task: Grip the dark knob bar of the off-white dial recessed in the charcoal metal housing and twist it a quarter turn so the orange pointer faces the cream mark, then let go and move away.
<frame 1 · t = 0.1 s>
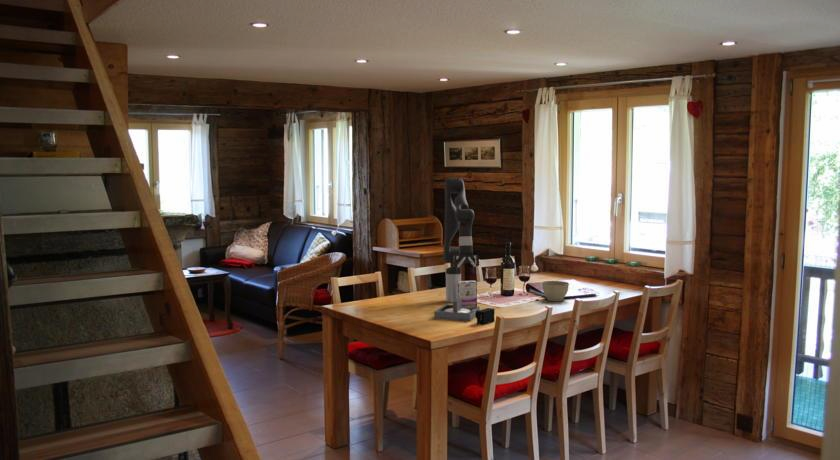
hand: (466, 274, 386), 22 cm above the table, tool pointing down, fingers open, 8 cm apart
planter bowl: (555, 300, 426), on the table
digital camera: (484, 323, 368), on the table
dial: (457, 306, 382), point 6 cm above the table, hinge at 0.0°
candy bar box: (466, 309, 401), on the table
dial housing: (457, 316, 383), on the table
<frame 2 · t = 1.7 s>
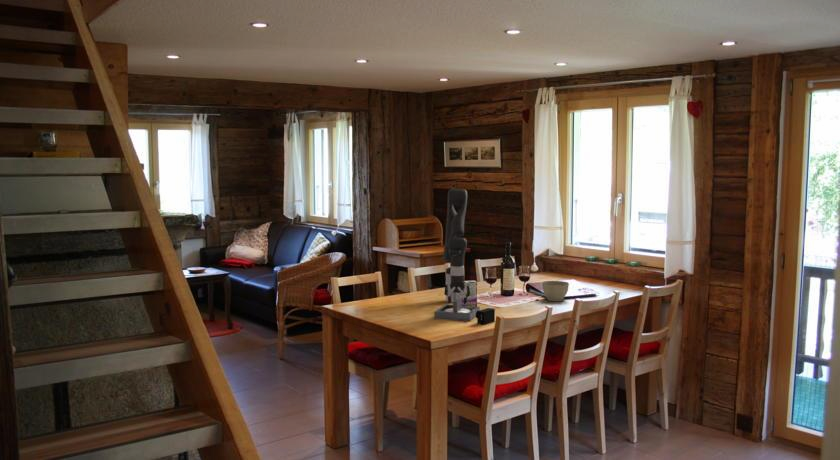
hand: (457, 303, 382), 7 cm above the table, tool pointing down, fingers open, 8 cm apart
nothing on the table moved.
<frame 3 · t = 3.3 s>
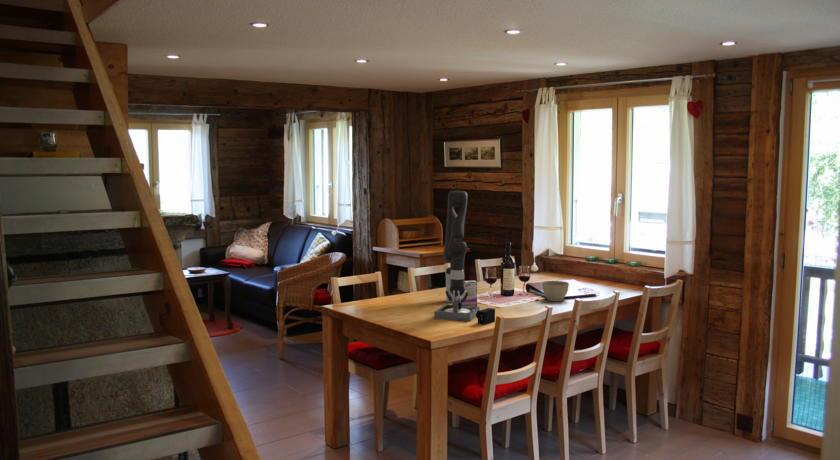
hand: (457, 308, 383), 4 cm above the table, tool pointing down, fingers closed on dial, 2 cm apart
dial: (457, 306, 382), point 6 cm above the table, hinge at 0.0°, touching gripper
everything else where it was.
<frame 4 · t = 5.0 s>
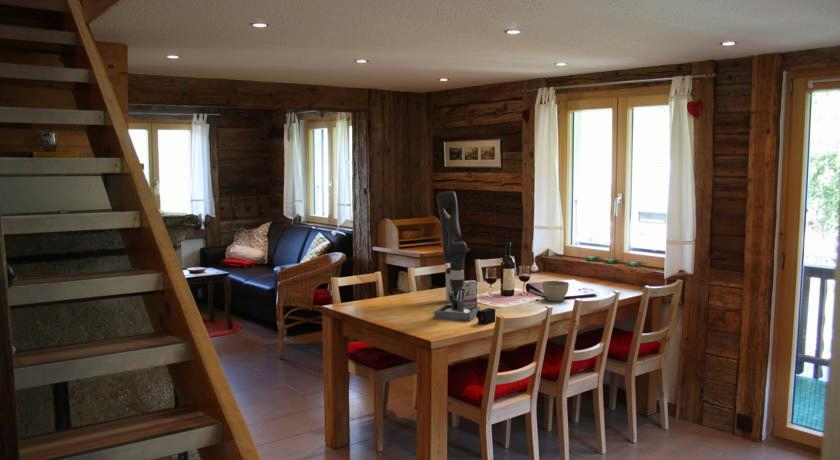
hand: (456, 308, 383), 4 cm above the table, tool pointing down, fingers closed on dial, 3 cm apart
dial: (457, 306, 382), point 6 cm above the table, hinge at 52.2°, touching gripper
everything else where it was.
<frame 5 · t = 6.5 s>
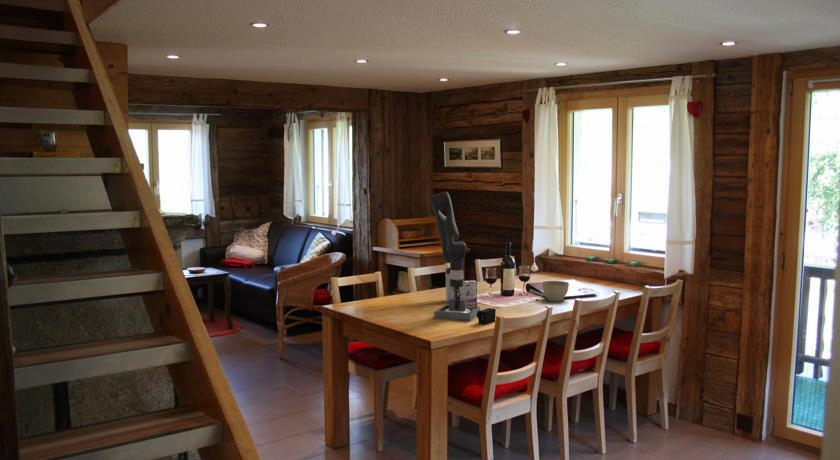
hand: (456, 308, 383), 4 cm above the table, tool pointing down, fingers closed on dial, 3 cm apart
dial: (457, 306, 382), point 6 cm above the table, hinge at 94.8°, touching gripper
everything else where it was.
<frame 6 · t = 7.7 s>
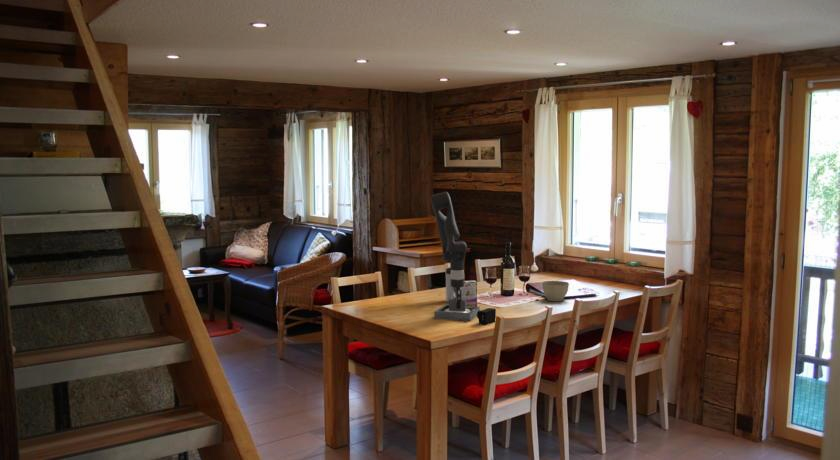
hand: (457, 307, 382), 5 cm above the table, tool pointing down, fingers open, 8 cm apart
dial: (457, 306, 382), point 6 cm above the table, hinge at 95.9°
everything else where it was.
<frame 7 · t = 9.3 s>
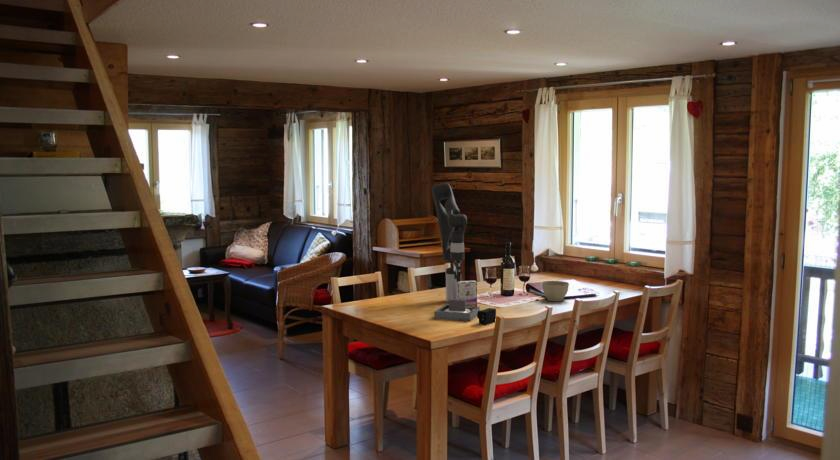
hand: (457, 280, 381), 20 cm above the table, tool pointing down, fingers open, 8 cm apart
nothing on the table moved.
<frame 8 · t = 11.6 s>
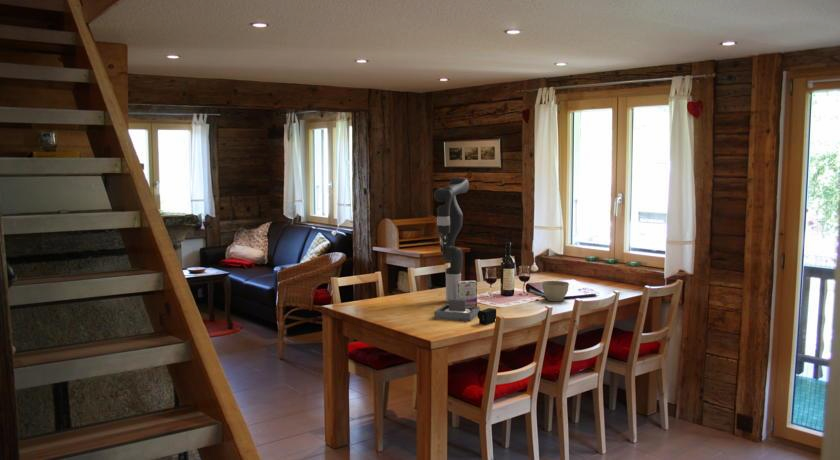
hand: (443, 252, 396), 33 cm above the table, tool pointing down, fingers open, 8 cm apart
at the end: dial at +96° (first picture: +0°); digital camera moved 1.2 cm from its start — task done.
